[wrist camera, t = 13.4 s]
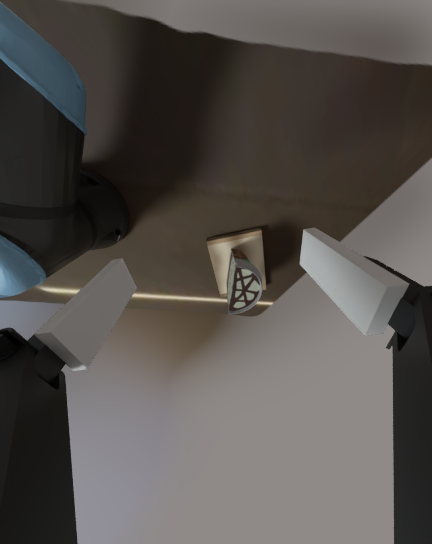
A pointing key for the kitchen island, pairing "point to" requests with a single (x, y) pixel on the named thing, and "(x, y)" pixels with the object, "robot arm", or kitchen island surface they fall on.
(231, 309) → the food container
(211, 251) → the board
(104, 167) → the kitchen island surface
